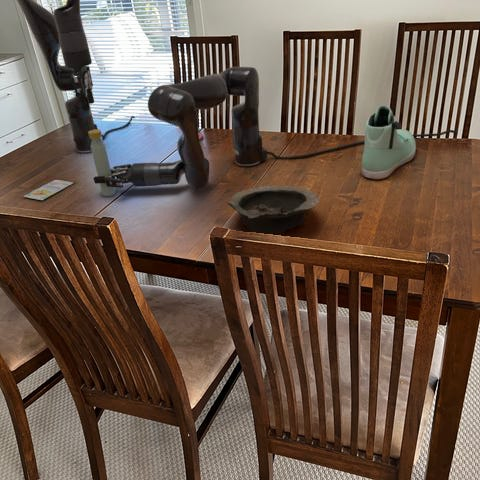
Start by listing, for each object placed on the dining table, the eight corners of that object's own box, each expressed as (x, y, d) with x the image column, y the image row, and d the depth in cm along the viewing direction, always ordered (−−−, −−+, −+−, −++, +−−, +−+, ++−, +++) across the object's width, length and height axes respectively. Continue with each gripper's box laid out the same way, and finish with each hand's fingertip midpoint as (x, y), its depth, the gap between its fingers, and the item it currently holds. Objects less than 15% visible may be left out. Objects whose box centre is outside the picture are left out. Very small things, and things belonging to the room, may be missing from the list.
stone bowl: (258, 254, 121) (254, 221, 116) (217, 221, 141) (212, 192, 137) (338, 225, 129) (337, 193, 125) (288, 198, 150) (286, 170, 145)
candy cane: (171, 147, 193) (170, 143, 192) (194, 135, 203) (194, 131, 202) (182, 149, 190) (182, 145, 189) (206, 137, 200) (205, 133, 199)
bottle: (107, 189, 162) (93, 129, 151) (118, 191, 161) (104, 130, 150) (99, 195, 159) (84, 134, 148) (110, 196, 157) (96, 135, 146)
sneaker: (420, 146, 175) (428, 89, 165) (399, 183, 150) (406, 120, 139) (383, 142, 181) (388, 87, 171) (356, 177, 156) (360, 116, 145)
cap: (94, 134, 152) (93, 128, 151) (104, 135, 150) (103, 129, 149) (86, 138, 149) (85, 133, 148) (97, 139, 147) (95, 133, 146)
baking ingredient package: (22, 195, 161) (55, 178, 172) (23, 197, 161) (55, 180, 172) (41, 199, 157) (74, 182, 169) (42, 200, 157) (74, 183, 169)
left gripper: (67, 44, 142) (81, 101, 151) (55, 53, 130) (70, 114, 138) (92, 42, 142) (105, 99, 151) (83, 51, 130) (96, 112, 138)
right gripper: (150, 155, 159) (100, 157, 161) (141, 172, 147) (87, 175, 149) (154, 176, 163) (105, 178, 165) (145, 194, 151) (92, 196, 152)
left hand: (88, 106), depth 144 cm, fingers open, 6 cm apart
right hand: (96, 176), depth 157 cm, fingers closed on bottle, 4 cm apart
